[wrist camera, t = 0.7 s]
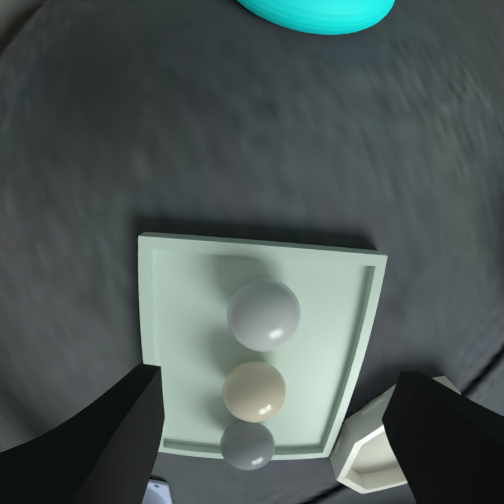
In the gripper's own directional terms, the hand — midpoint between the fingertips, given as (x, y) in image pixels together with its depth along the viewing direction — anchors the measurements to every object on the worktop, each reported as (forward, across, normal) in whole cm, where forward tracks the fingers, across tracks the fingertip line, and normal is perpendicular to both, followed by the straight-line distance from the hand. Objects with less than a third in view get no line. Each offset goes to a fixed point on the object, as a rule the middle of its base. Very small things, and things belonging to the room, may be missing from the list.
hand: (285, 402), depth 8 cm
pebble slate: (+8, 0, +9) cm, 12 cm away
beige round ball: (+8, 0, +5) cm, 9 cm away
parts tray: (+8, 0, +5) cm, 10 cm away
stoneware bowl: (+8, -12, +12) cm, 19 cm away
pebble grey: (+8, 0, 0) cm, 8 cm away
